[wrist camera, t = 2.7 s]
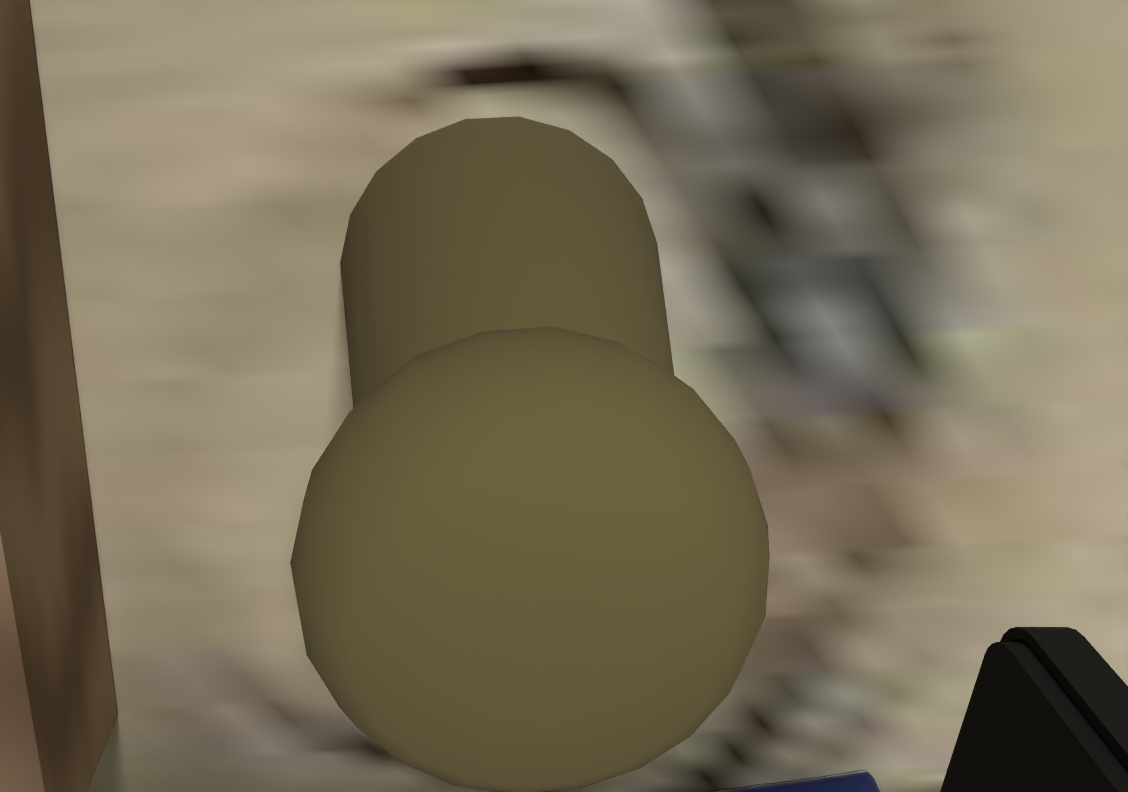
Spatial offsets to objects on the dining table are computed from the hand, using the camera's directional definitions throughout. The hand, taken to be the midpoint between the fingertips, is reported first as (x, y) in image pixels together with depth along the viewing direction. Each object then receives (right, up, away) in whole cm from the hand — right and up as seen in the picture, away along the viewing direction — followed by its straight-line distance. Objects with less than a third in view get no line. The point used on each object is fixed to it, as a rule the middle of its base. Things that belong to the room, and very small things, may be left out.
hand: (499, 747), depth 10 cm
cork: (-1, +6, +10) cm, 12 cm away
